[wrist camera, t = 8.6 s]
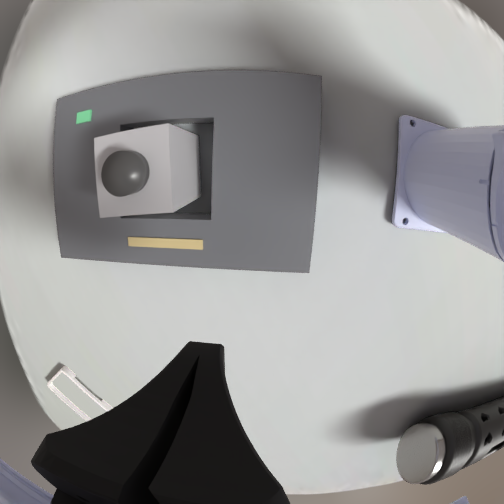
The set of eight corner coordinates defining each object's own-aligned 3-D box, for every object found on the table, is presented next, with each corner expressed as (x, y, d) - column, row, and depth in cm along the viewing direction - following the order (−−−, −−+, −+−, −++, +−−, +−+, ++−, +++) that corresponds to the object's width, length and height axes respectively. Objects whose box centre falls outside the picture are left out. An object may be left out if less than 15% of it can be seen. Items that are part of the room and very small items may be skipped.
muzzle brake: (491, 414, 27) (512, 448, 17) (384, 442, 26) (402, 500, 17) (519, 376, 24) (546, 409, 14) (420, 398, 23) (452, 462, 14)
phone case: (50, 379, 25) (131, 445, 29) (45, 385, 24) (129, 452, 27) (67, 361, 24) (160, 437, 27) (61, 368, 22) (157, 445, 26)
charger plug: (198, 135, 16) (160, 120, 9) (201, 196, 17) (166, 216, 11) (142, 143, 16) (82, 137, 10) (145, 200, 17) (89, 222, 11)
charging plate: (315, 85, 15) (322, 75, 13) (304, 261, 18) (309, 274, 16) (72, 102, 15) (55, 98, 13) (75, 249, 19) (59, 258, 17)
